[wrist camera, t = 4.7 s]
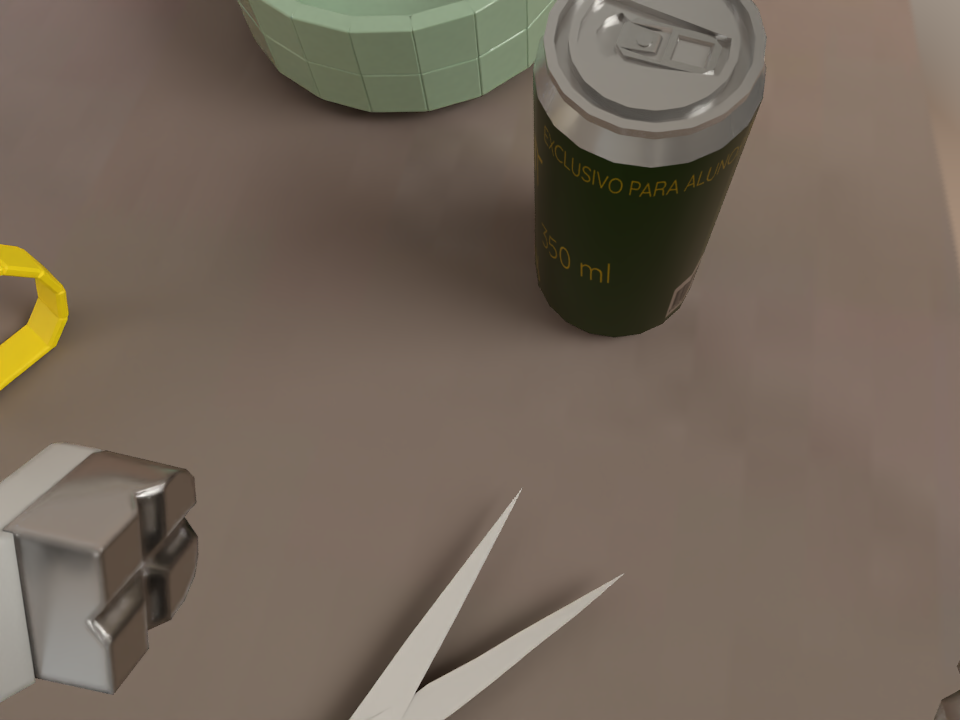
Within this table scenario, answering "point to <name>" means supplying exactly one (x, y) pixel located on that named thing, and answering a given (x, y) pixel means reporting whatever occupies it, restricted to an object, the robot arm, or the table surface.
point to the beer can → (637, 149)
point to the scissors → (408, 716)
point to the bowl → (398, 47)
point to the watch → (32, 315)
